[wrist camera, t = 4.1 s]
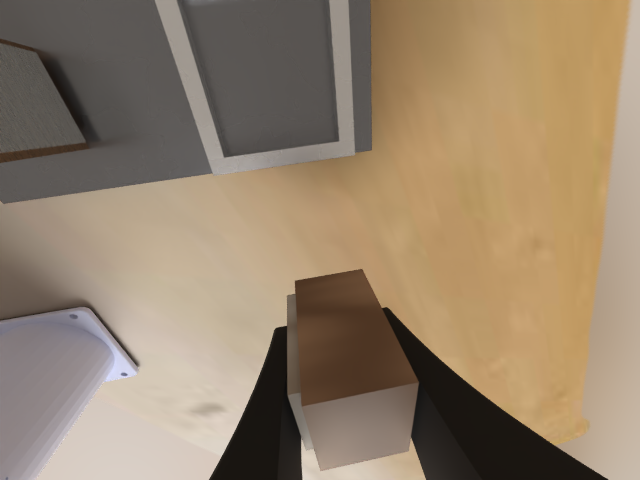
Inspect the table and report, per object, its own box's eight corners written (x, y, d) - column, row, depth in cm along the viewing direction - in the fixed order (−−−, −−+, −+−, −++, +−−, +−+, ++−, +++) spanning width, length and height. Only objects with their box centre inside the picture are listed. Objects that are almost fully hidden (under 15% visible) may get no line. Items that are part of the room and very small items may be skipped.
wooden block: (300, 343, 12) (308, 473, 8) (285, 282, 10) (285, 410, 6) (364, 330, 12) (408, 451, 8) (362, 268, 10) (418, 382, 6)
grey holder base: (25, 196, 13) (-156, 251, 8) (-117, 8, 9) (-660, -138, 4) (365, 147, 14) (413, 166, 9) (361, -39, 11) (440, -203, 5)
